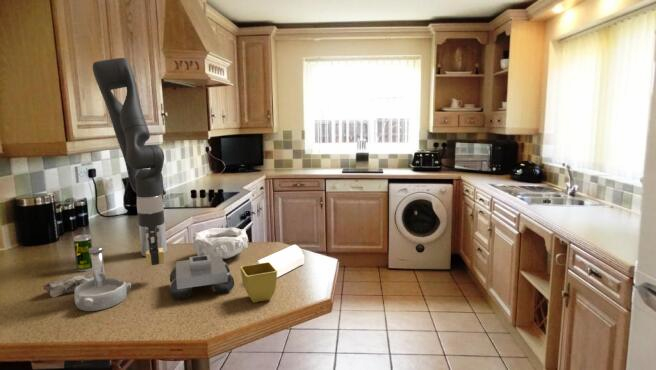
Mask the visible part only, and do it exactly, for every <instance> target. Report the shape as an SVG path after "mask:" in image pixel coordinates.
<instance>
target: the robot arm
mask: <svg viewBox="0 0 656 370" xmlns="http://www.w3.org/2000/svg"><path fill="white" fill-rule="evenodd" d="M92 71H93V76H94V78H95V80H96V83H97V85H98V89H99V91H100V93H101V95H102V96H101V97H102V98H103V101H104V104H105V105H106V109H107V111H108V114H109V117H110V120H111V124H112V128H113V132H114V134H115V137H116V140H117V142H118V145H119V147H120V150H121V153H122V157H123V160H124V162H125V168H126V171H127V176H128V181H129V183H130V184H129V185H130V187H131V189H132V191H133V192H134V193H136V210H137V211H136V212H137V220H138V226H139V227H138V229H139V239H140V250H141V252H140V253H141V256H142V257H143V256H144V257H146V250H149V253H150V254H151V263H152V265H153V266H157V264H159V255H158V253H159V250H158V249H159V248H163V255H165V254H166V253H167V252H168V249H167V235H166V233H167V232H166V221H165V220H166V219H165V209H164V200H165V199H164V176H163V174H162V171H163V168H164V162H165V152H164V150H163V149H162V147H160V146H159V145H157V144H149V145H148V144H147V145H146V142H148V141H149V139H150V137H151V134H150V133H151V132H150V130H149V127H148V125H147V122H146V119H145V116H144V114H143V110H142V106H141V101H140V94H139V91H138V87H137V83H136V79H135V76H134V73H133V69H132V66H131V65H130V62H129V60H128V59H126V58H124V57H118V58H111V59H105V60H99V61H94V62H93V63H92ZM122 88H123V89H124V88H126V95H125V99H124V102H123V103H121V102H120V101H119V100H118V98H117V97H116V96H115V94H114V93H113V91H112V90H117V89H122ZM159 265H160V264H159Z"/></svg>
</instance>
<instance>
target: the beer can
mask: <svg viewBox="0 0 656 370" xmlns="http://www.w3.org/2000/svg"><path fill="white" fill-rule="evenodd" d="M92 247H93V243H92V236H91V234H88V233H87V234H79V235H75V236H74V237H73V248H74V249H73V250H74V256H75V263H76V264H75V266H76V270H77V272H79V271H80V272H81V273H84V272H83V271H85V272H89V271H93V268H92V260H91V254H90V253H89V248H92ZM88 270H89V271H88Z"/></svg>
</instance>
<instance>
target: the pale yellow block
mask: <svg viewBox="0 0 656 370" xmlns="http://www.w3.org/2000/svg"><path fill="white" fill-rule="evenodd" d="M158 250H159V253H158V255H159V264H157V265H158V266H159V265H164V264H165V257H164V256H165V254H163V248H159V249H158ZM145 258H146V266H147V267H151V266H153V267H154V265H152V263H151V254H150V253H149V250H146V256H145ZM157 265H156V266H157Z"/></svg>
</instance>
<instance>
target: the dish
mask: <svg viewBox="0 0 656 370" xmlns="http://www.w3.org/2000/svg"><path fill="white" fill-rule="evenodd" d="M105 280H106V285H105V286H102V287H95V284H94V280H90V281H88V282H85V283H82V284H80V285H79V286H77V287H76V288H75V290H74V293H73V295H74V297H73V298H74V304H75V305H76V307H77V309H78V310H80V311H83V312H95V311H101V310H106V309H108V308H111V307H113V306H116V305H118V304H120V303H121V302H123V301H124V300H125V299H126V297H127V292H128V291H130V290H131V288H132V283H131V282H126V280H121V279H119V278H118V277H117V278H116V277H105Z"/></svg>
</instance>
